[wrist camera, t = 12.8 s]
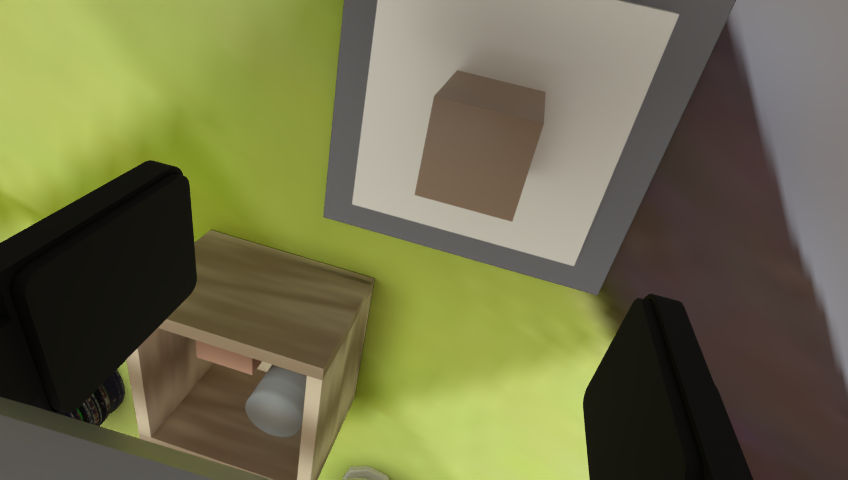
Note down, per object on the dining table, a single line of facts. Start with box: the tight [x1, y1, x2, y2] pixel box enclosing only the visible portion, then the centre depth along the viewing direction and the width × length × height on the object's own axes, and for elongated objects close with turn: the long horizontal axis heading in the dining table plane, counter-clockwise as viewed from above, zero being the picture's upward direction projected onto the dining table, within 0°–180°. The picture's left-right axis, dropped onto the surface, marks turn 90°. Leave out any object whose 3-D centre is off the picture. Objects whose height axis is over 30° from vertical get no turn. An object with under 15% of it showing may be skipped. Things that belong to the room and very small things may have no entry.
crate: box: [126, 230, 375, 480], centre depth 31 cm, size 11×11×8 cm
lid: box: [352, 0, 679, 266], centre depth 21 cm, size 12×12×6 cm
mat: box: [323, 0, 736, 295], centre depth 24 cm, size 16×16×1 cm
